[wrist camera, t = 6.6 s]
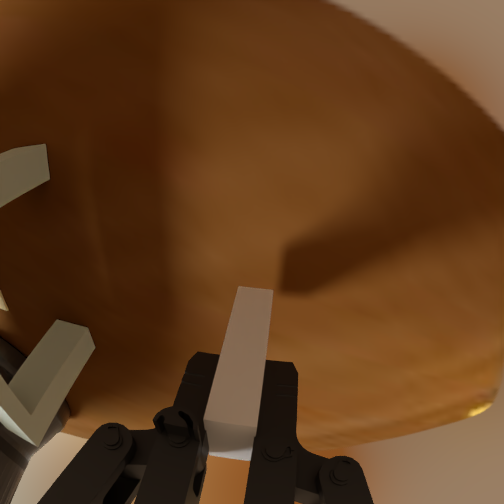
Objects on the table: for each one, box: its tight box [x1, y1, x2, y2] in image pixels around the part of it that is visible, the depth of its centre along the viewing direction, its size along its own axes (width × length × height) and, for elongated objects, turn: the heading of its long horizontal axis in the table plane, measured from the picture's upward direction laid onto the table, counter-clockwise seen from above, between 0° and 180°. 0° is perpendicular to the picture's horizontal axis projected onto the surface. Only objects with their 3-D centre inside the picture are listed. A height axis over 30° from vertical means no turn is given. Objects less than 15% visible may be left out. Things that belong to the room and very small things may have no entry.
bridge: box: [0, 144, 96, 447], centre depth 13 cm, size 3×14×9 cm, turn 177°
